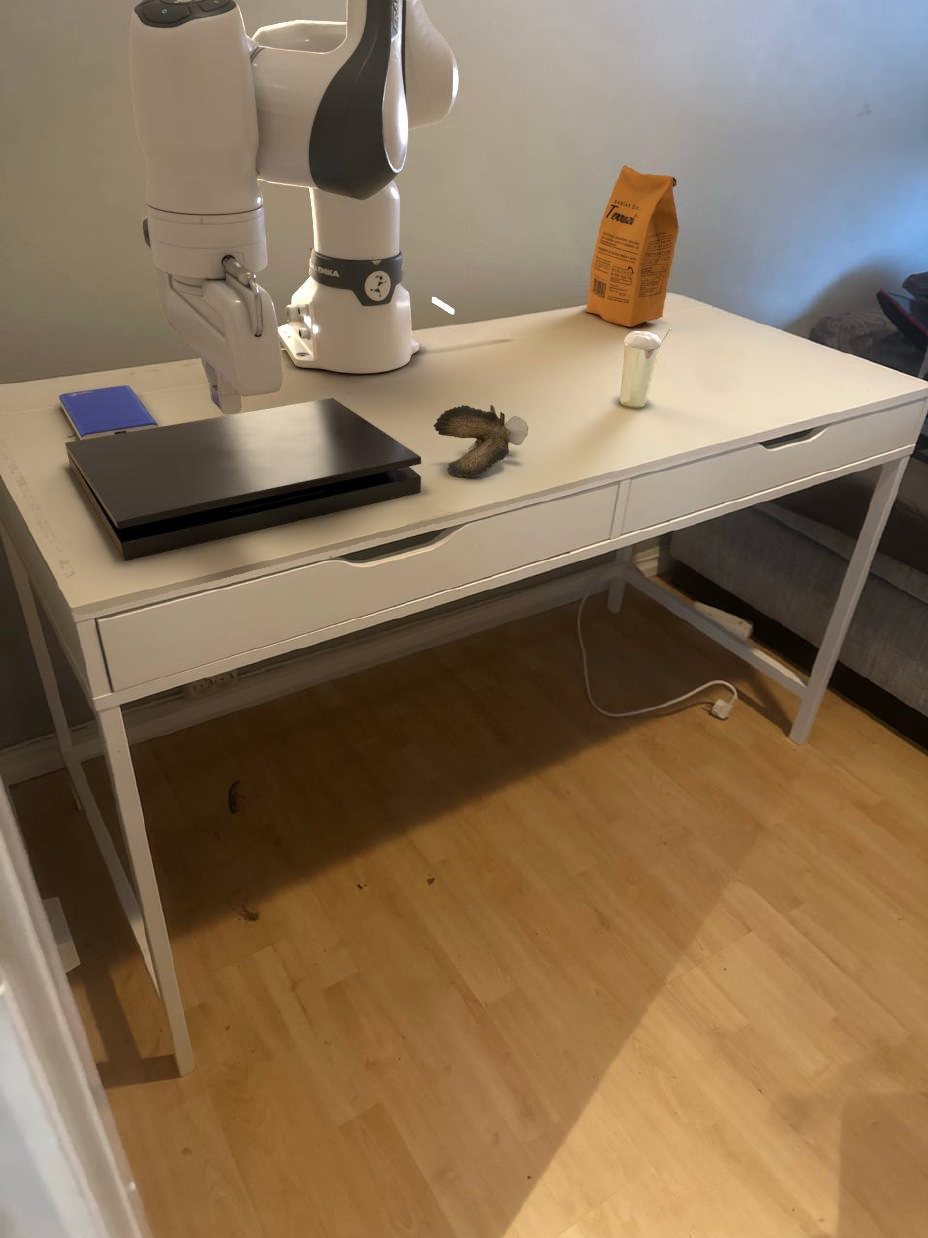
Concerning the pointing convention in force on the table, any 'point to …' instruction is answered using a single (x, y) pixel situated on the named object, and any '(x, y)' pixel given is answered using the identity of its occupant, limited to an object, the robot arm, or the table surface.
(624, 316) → the coffee package
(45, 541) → the table surface
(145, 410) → the hard drive
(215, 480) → the laptop screen
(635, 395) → the milkshake
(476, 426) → the eagle figurine
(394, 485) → the laptop
